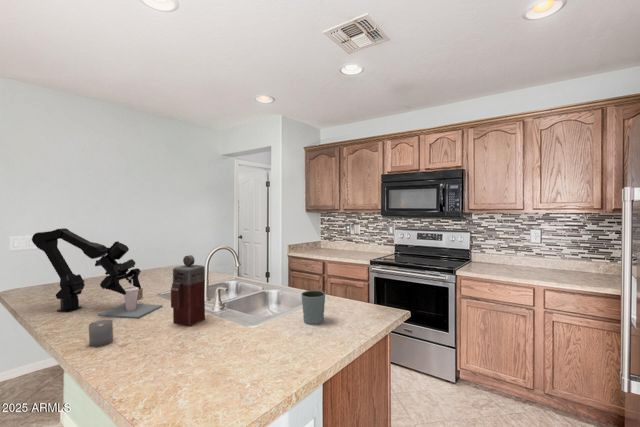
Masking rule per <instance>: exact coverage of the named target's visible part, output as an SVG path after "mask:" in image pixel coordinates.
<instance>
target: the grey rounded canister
mask: <svg viewBox="0 0 640 427" xmlns="http://www.w3.org/2000/svg"><path fill="white" fill-rule="evenodd" d="M113 323H114V322H113V319H101V320H96V321H93V322H91V323H89V324H88V340H89V343H88V344H89V345H88V346H89V347H91V348H99V347H103V346H106V345H109V344H111V343H113V342H114V326H113V325H114V324H113Z"/></svg>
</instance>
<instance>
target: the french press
mask: <svg viewBox="0 0 640 427" xmlns="http://www.w3.org/2000/svg"><path fill="white" fill-rule="evenodd" d="M182 263H183V264H184V265H179V266H176V267H173V269H172V283H171V287H170V308H171V309H172V311H173V312H172V313H173V314H172V317H173V318H172V319H173V320H172V322H173V323H172V324H174V325H178V326H184V327H192V326H194V325H196V324H198V323H200V322H203V321H204V320H205V319H206V308H205V307H206V304H205V303H206V300H205V298H206V296H205V295H206V294H205V293H206V292H205V290H206V282H205V281H206V279H205V278H206V276H205V274H206V273H205V272H206V271H205V266H204V265H203V264H202V265H201V264H195V257H194V256H193V255H191V254H189V255H186V256H183V260H182Z"/></svg>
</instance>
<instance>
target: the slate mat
mask: <svg viewBox="0 0 640 427" xmlns="http://www.w3.org/2000/svg"><path fill="white" fill-rule="evenodd" d="M161 308H163V304H149V303H137V304H136V309H135V310H132V311H127V310H126V304H125V302H124V303H122V304H120V305H116V306H114V307H112V308H110V309H107V310H104V311H102V312H99V313H97V317H108V318H120V319H121V318H123V319H137V320H138V319H140V318H142V317H144V316H145V317H146V316H147V315H149V314H151V313H153V312H155V311H157V310H159V309H161Z"/></svg>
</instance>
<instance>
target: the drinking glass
mask: <svg viewBox="0 0 640 427" xmlns="http://www.w3.org/2000/svg"><path fill="white" fill-rule="evenodd" d="M300 296H301V303H302V313H303V323H304V324H306V325H310V326H318V325H323V323H324V319H325V302H326V292H324V291H321V290H305V291H303V292H301V294H300Z"/></svg>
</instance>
